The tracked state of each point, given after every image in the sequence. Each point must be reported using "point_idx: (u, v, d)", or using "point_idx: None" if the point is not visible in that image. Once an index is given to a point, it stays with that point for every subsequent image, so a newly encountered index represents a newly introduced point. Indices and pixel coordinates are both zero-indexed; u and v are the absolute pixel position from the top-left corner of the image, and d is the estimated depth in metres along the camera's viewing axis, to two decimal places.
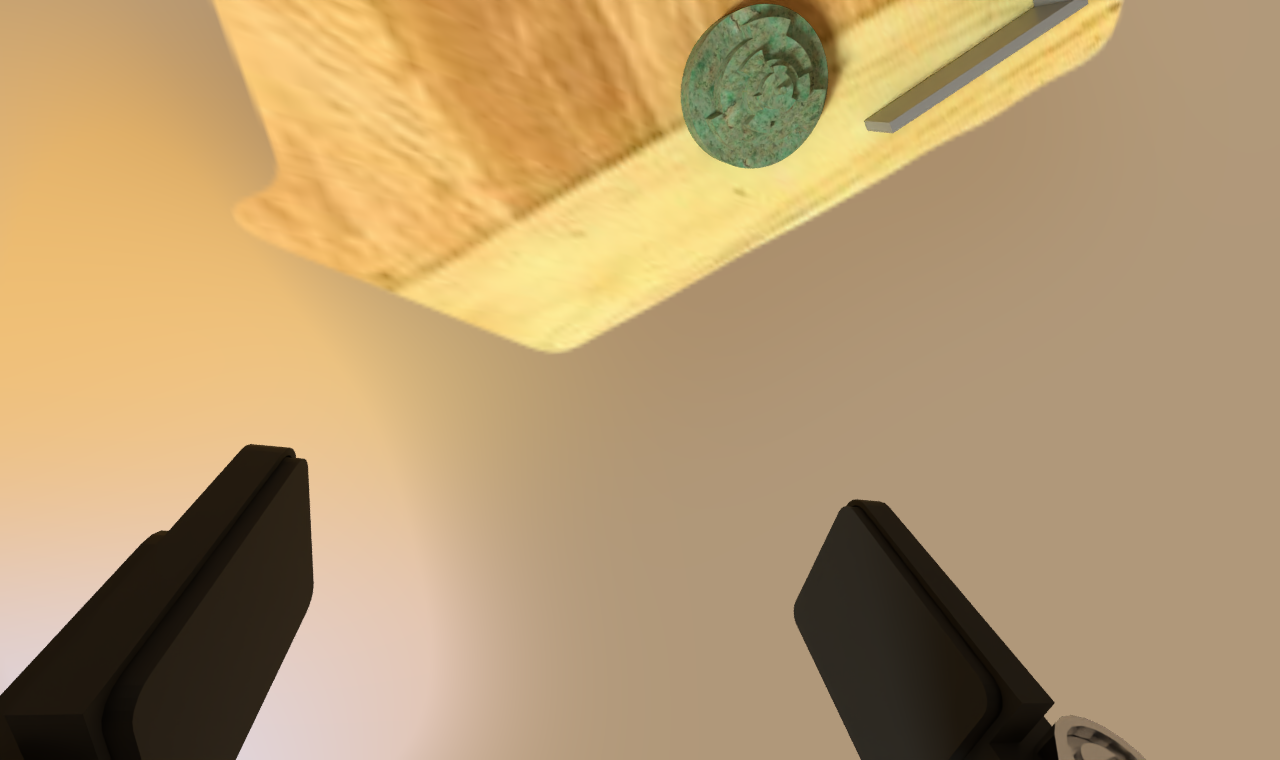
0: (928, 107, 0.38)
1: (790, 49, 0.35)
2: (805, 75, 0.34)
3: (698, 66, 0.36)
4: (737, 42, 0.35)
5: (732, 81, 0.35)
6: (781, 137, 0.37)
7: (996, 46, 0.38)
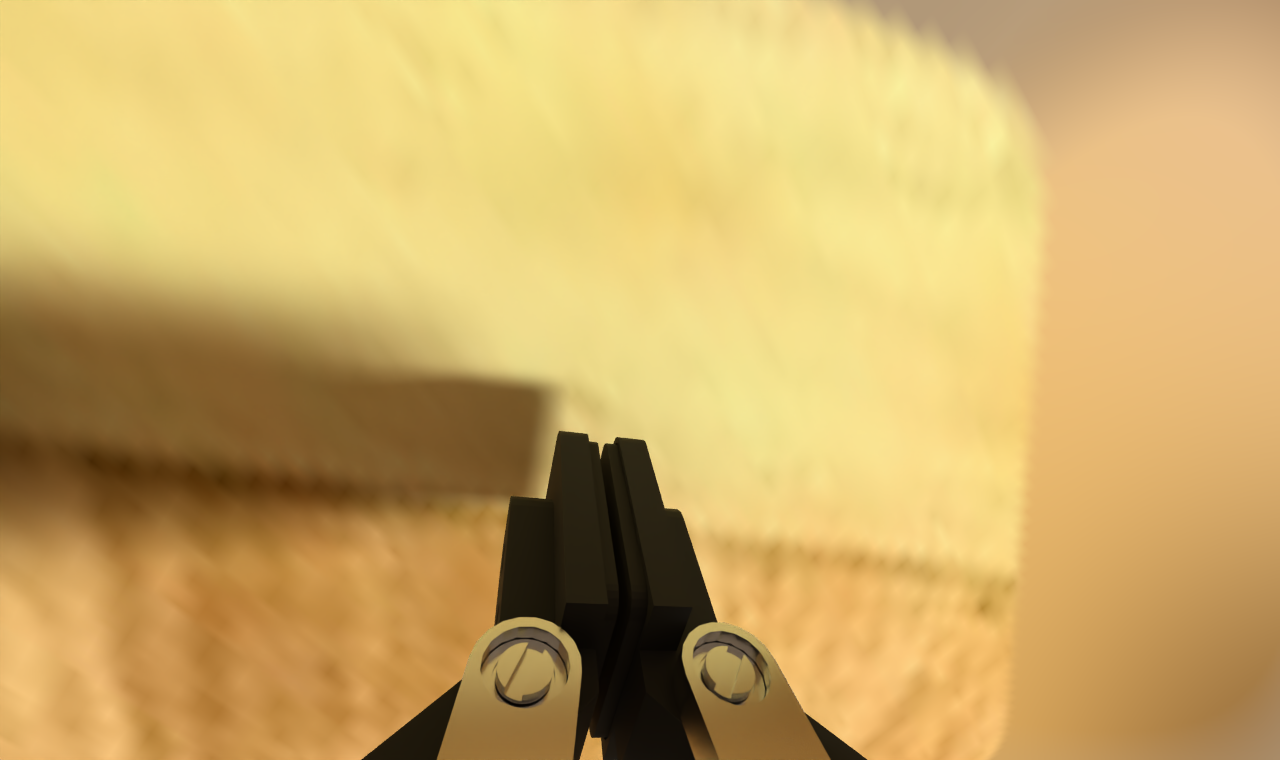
0: None
1: None
2: None
3: None
4: None
5: None
6: None
7: None
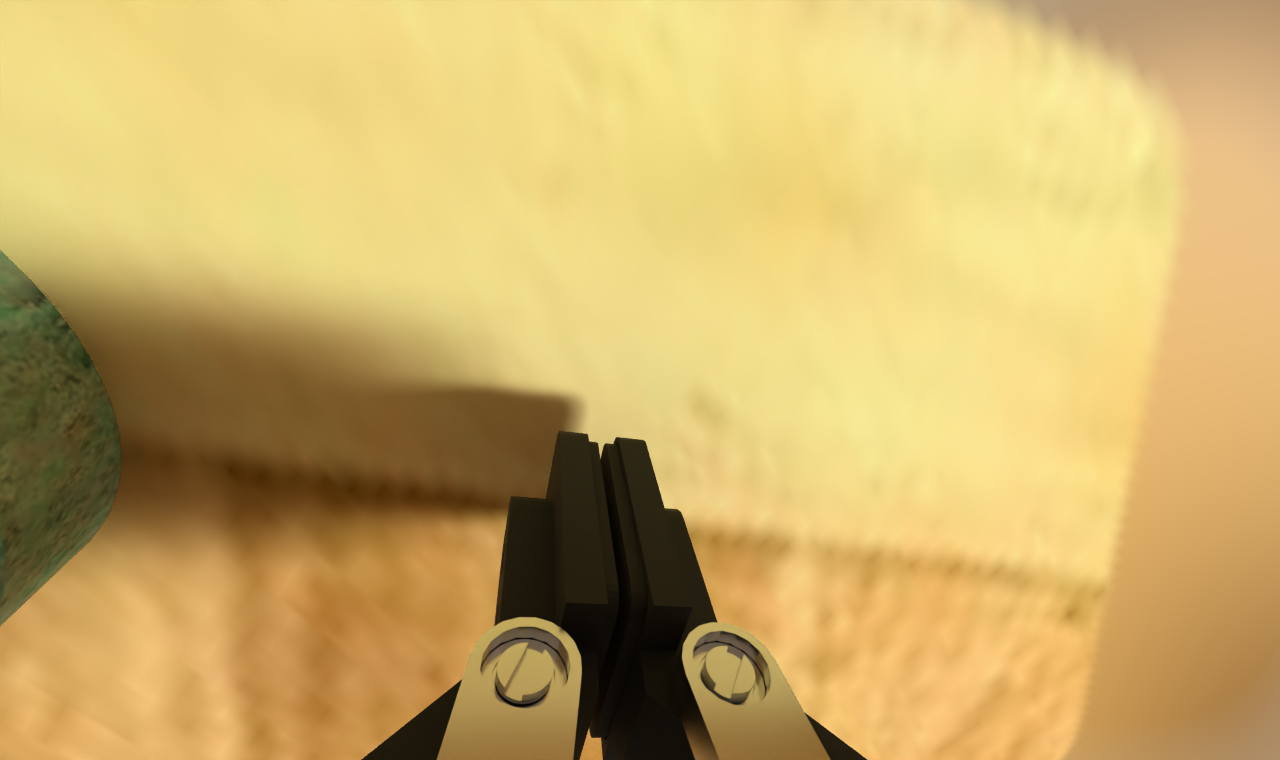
0: None
1: None
2: None
3: None
4: None
5: None
6: None
7: None
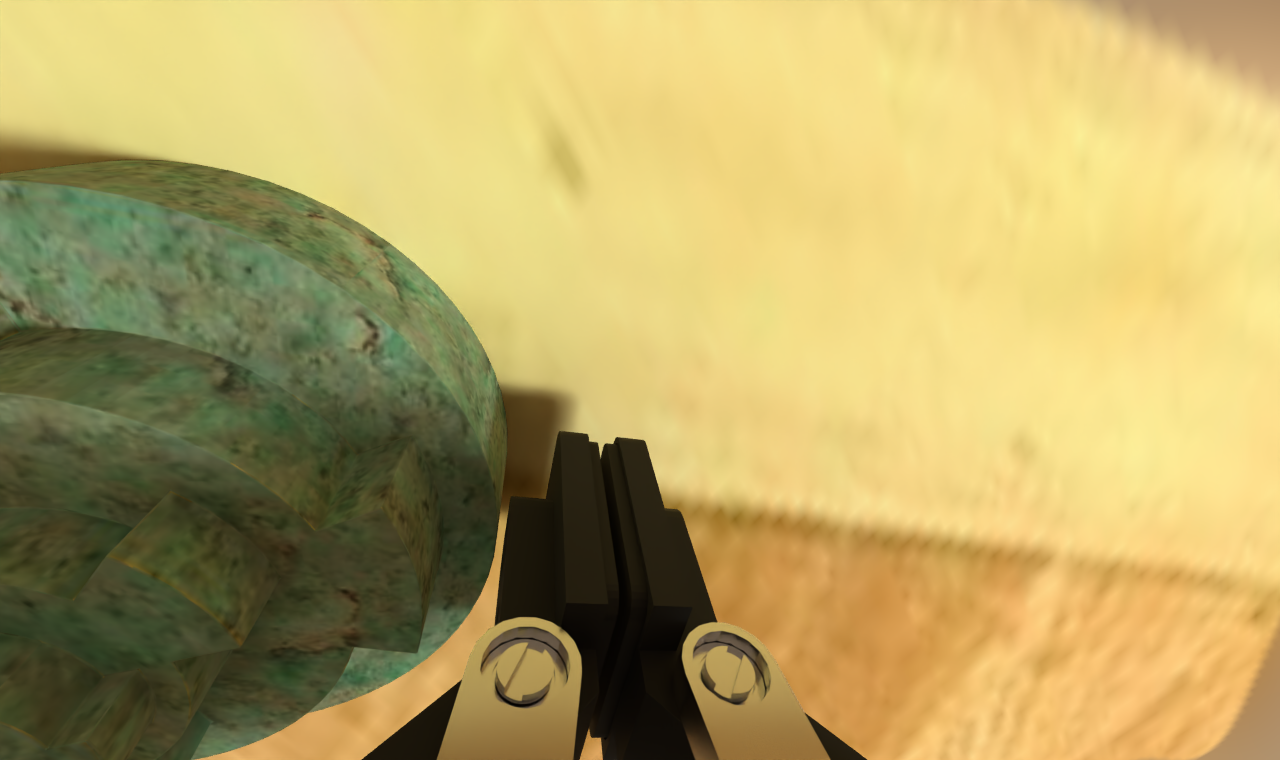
0: None
1: None
2: None
3: (365, 679, 0.10)
4: None
5: (248, 706, 0.08)
6: (56, 409, 0.06)
7: None
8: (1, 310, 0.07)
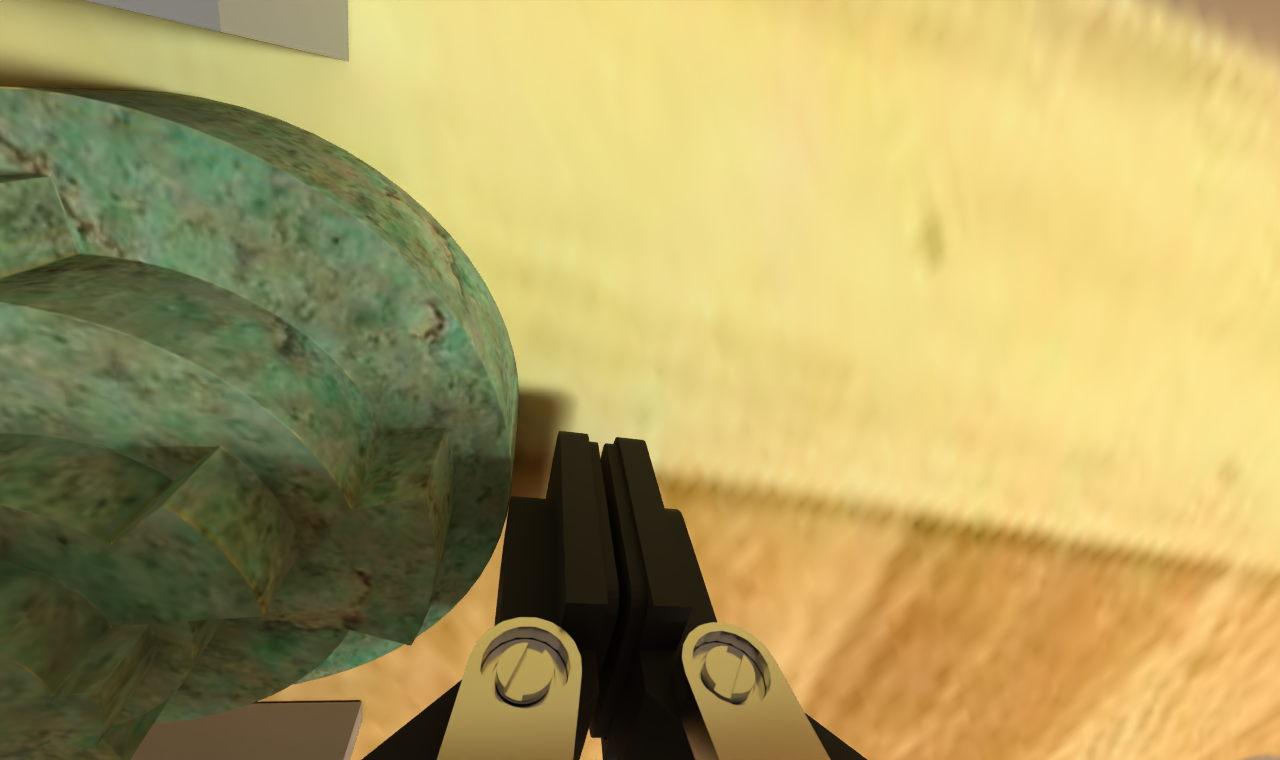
0: None
1: None
2: None
3: (325, 662, 0.10)
4: None
5: (222, 676, 0.08)
6: (132, 346, 0.05)
7: None
8: (66, 228, 0.06)
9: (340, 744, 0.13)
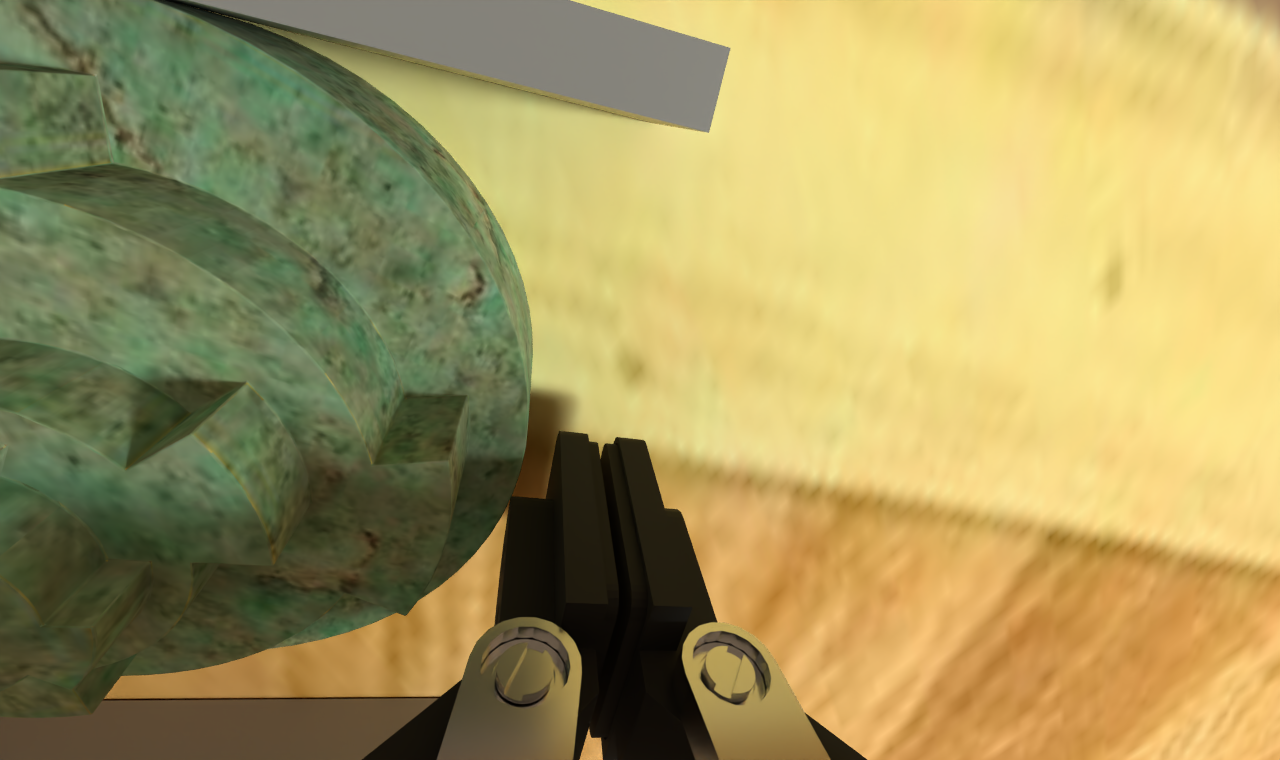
0: None
1: None
2: None
3: None
4: None
5: (200, 630, 0.07)
6: (173, 263, 0.05)
7: None
8: (103, 134, 0.06)
9: None
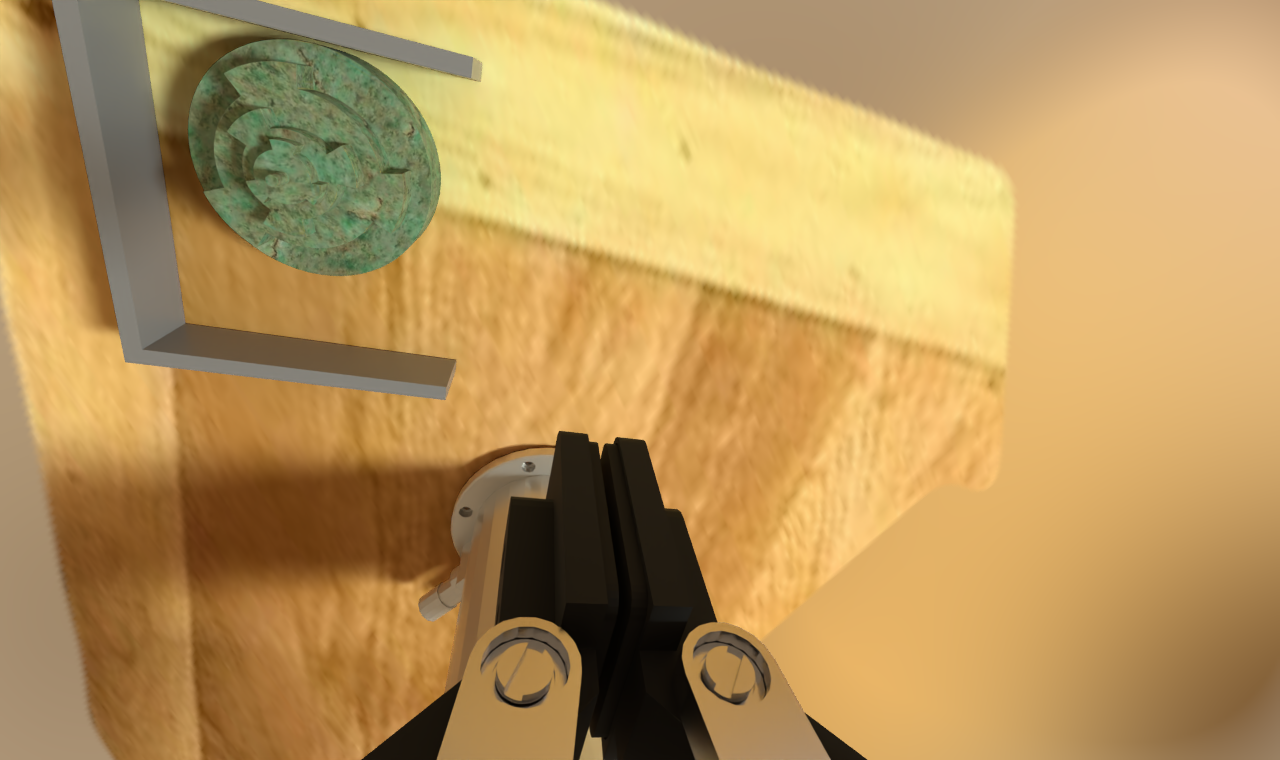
0: (399, 41, 0.22)
1: (231, 170, 0.22)
2: (233, 135, 0.21)
3: (353, 267, 0.26)
4: None
5: (329, 230, 0.24)
6: (336, 109, 0.22)
7: (242, 20, 0.21)
8: (312, 81, 0.23)
9: (450, 367, 0.31)
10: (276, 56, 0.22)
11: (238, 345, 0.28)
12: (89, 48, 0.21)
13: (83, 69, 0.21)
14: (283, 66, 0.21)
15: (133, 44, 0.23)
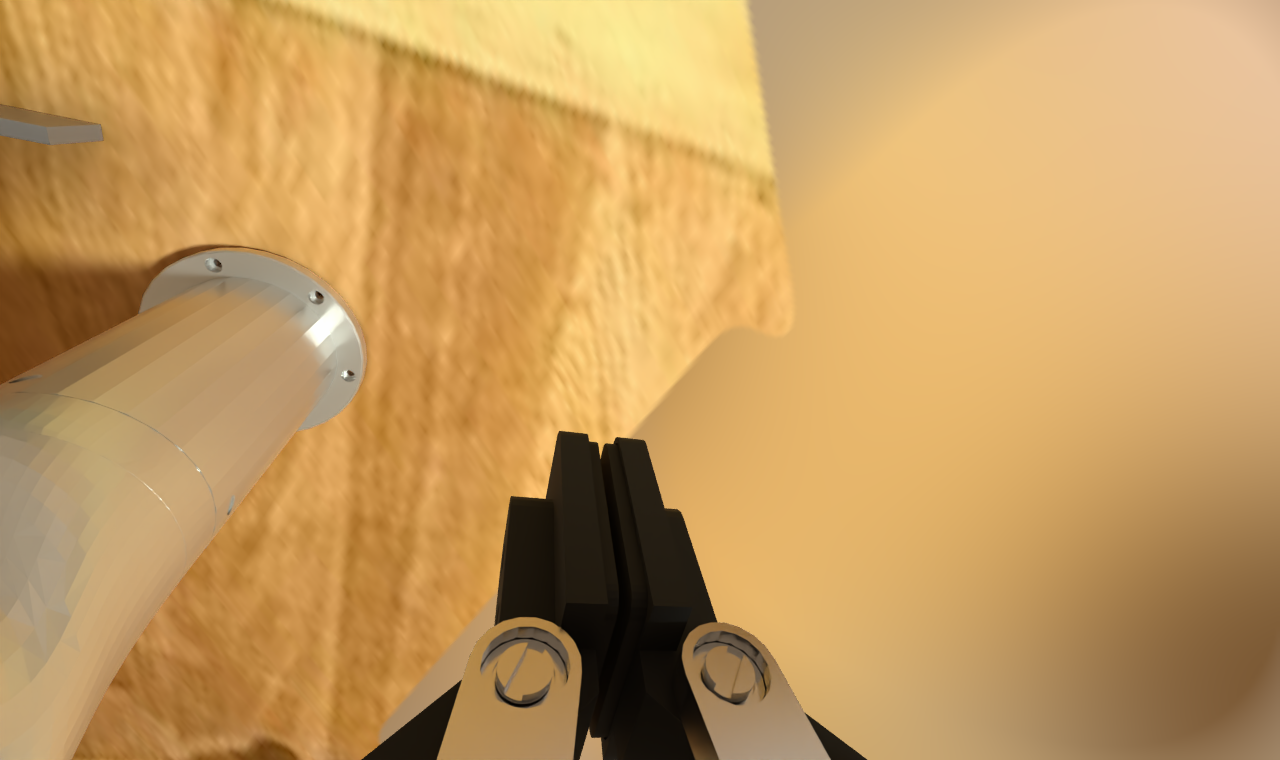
0: None
1: None
2: None
3: None
4: None
5: None
6: None
7: None
8: None
9: (81, 124, 0.27)
10: None
11: None
12: None
13: None
14: None
15: None
